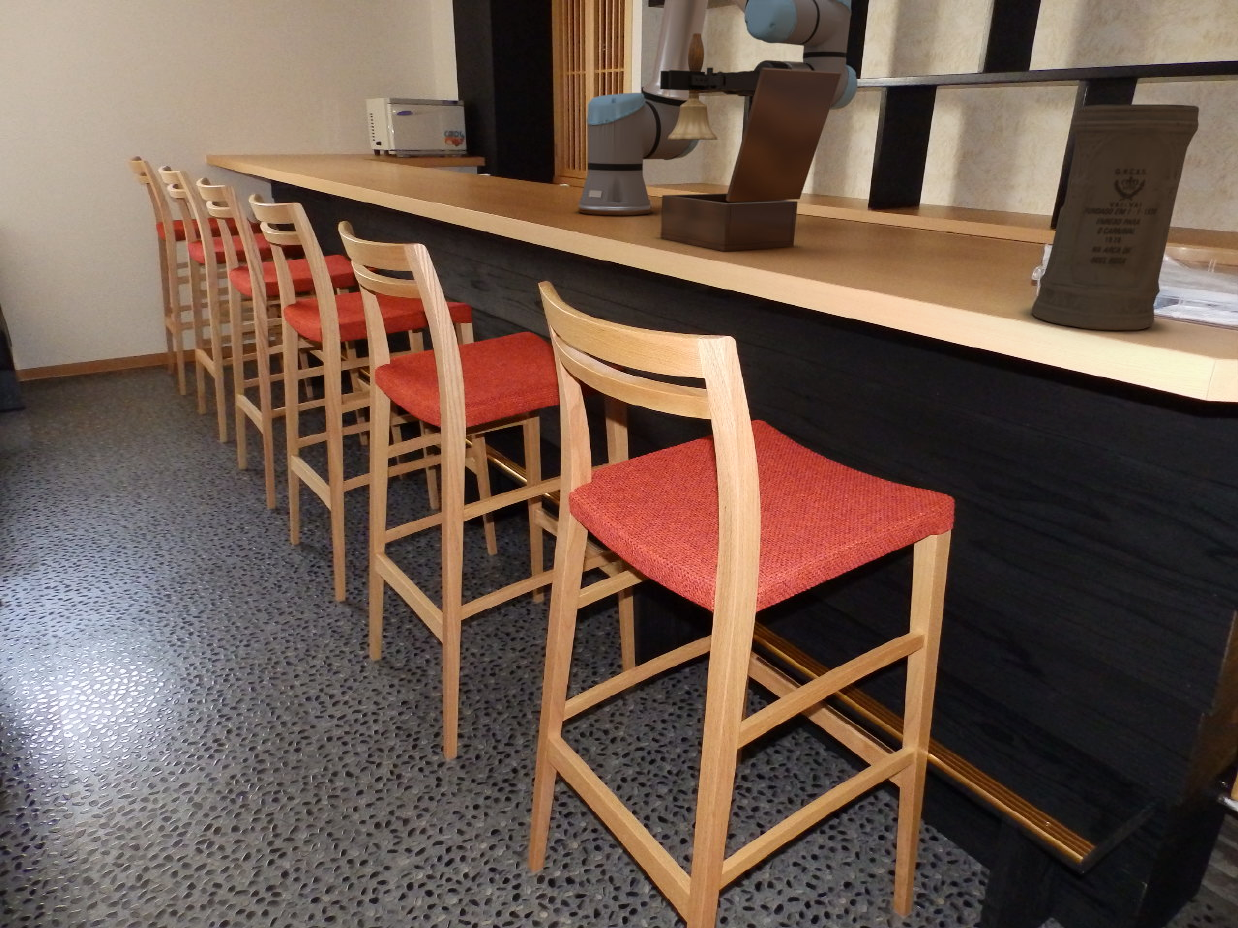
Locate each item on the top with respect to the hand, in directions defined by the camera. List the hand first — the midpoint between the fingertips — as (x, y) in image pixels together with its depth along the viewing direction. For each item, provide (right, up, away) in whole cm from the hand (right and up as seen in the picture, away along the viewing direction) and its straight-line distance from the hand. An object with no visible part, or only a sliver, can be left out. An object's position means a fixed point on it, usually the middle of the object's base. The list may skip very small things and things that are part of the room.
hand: (666, 80), depth 135 cm
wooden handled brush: (+5, -8, +6) cm, 11 cm away
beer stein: (+40, -47, -49) cm, 78 cm away
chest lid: (+16, -15, -14) cm, 26 cm away
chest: (+10, -26, +1) cm, 27 cm away
